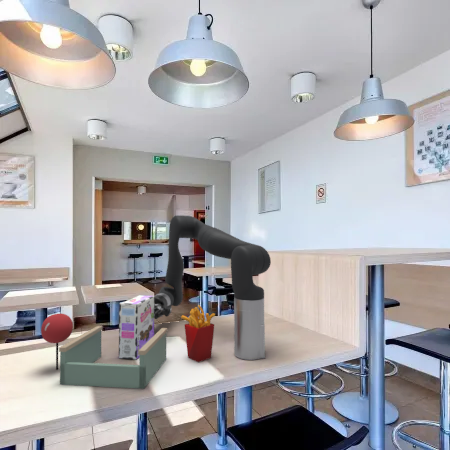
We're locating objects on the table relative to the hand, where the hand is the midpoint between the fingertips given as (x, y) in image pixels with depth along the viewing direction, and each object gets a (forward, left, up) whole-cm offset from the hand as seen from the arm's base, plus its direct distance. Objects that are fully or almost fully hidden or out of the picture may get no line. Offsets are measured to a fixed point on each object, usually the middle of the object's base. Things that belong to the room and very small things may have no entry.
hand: (143, 315), depth 103 cm
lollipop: (+17, +19, -10) cm, 28 cm away
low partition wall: (0, +18, -10) cm, 21 cm away
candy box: (0, +4, -10) cm, 11 cm away
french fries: (-19, +7, -10) cm, 23 cm away
